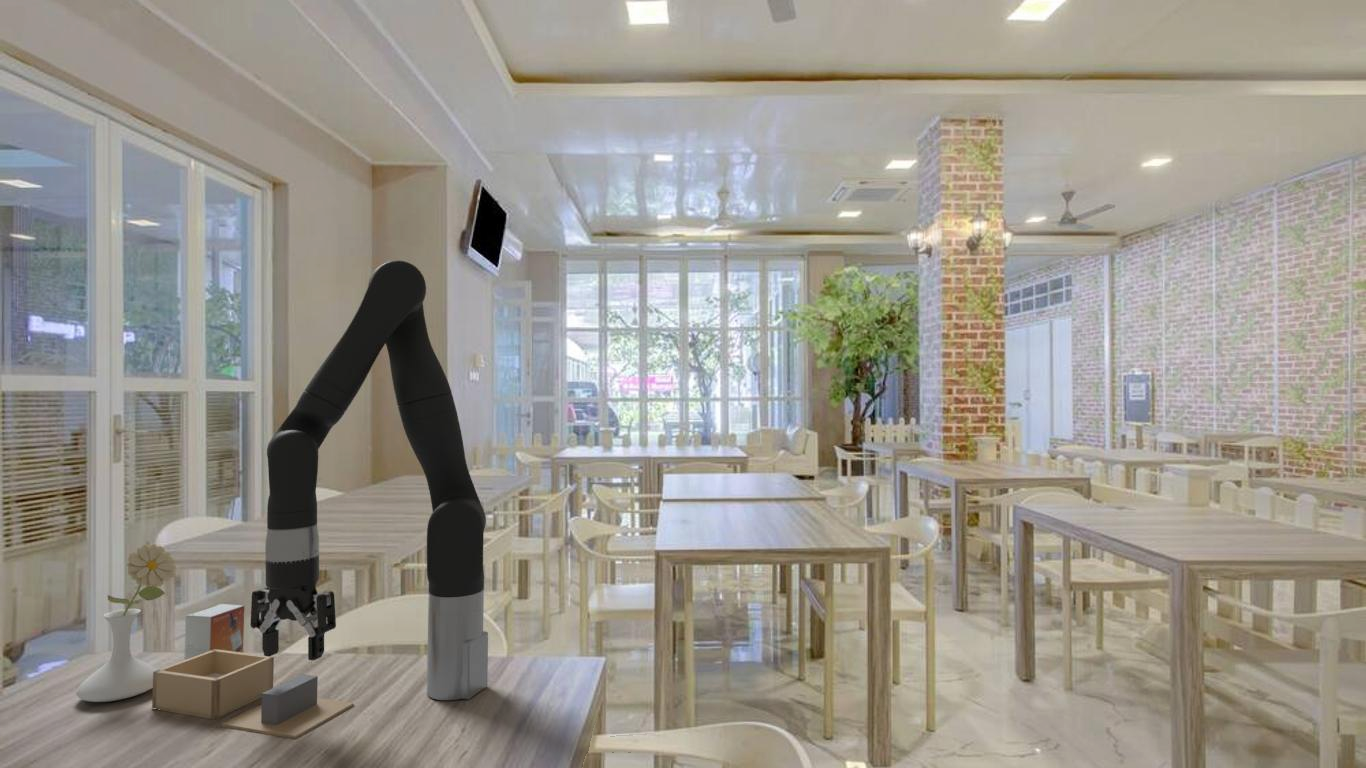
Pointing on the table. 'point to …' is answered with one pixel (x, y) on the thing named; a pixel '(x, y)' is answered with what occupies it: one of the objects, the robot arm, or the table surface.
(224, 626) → the small box
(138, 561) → the flower in vase
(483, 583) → the robot arm
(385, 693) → the table surface
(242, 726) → the mailer lid
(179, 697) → the box
